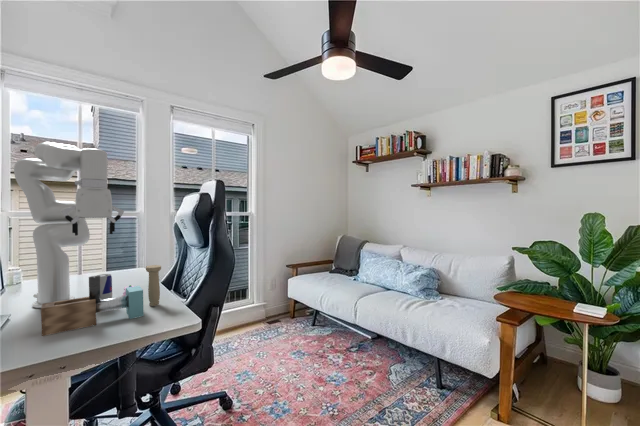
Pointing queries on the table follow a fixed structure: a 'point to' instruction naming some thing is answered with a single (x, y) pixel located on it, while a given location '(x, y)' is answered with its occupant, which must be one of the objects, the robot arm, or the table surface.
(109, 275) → the energy drink
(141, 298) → the socket
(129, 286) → the rabbit figure
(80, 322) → the wood grain block
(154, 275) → the handle
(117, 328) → the table surface
